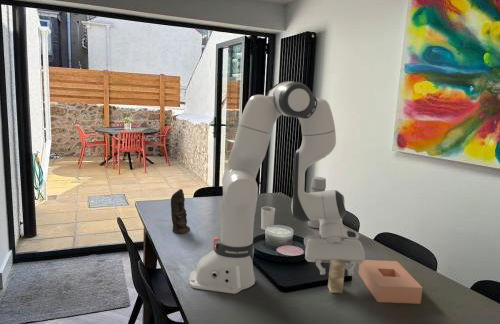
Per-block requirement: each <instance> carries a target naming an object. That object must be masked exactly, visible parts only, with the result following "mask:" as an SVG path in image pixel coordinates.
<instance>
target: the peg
mask: <svg viewBox="0 0 500 324" xmlns="http://www.w3.org/2000/svg"><path fill="white" fill-rule="evenodd" d="M328 269H329V272H328V279H327V280H328V282H327V288H328V290H329V292H330V293H331V294H332V293H333V294H334V293H335V294H343V291H344V282H345V271H346V263H344V262H343V260H335V259H330V263H329V268H328Z"/></svg>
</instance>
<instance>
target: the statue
mask: <svg viewBox="0 0 500 324" xmlns="http://www.w3.org/2000/svg"><path fill="white" fill-rule="evenodd" d="M170 208H171V209H170V212H171V222H172V232H173V233H176V234H181V235H184V234H186V233H187V232H188V231H190V230H191V228H190V226H188V225H187V224H188V219H187V215H188V213H187V210H186V208H185V194H184V190H183V189H182V188H179V189H178V190H177V191H175V192H174V193H173V194H172V196H171V198H170Z"/></svg>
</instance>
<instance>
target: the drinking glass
mask: <svg viewBox="0 0 500 324" xmlns="http://www.w3.org/2000/svg"><path fill="white" fill-rule="evenodd" d="M275 212H276V208H275V207H271V206H263V207H261V212H260V213H261V214H260V216H261V217H260V218H261V222H260V223H261V225H260V229H261V230H264V231H266V230H265V228H266V227H268V226H273V227H274V223H275V214H276V213H275Z"/></svg>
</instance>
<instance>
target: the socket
mask: <svg viewBox="0 0 500 324" xmlns="http://www.w3.org/2000/svg"><path fill="white" fill-rule="evenodd" d="M357 273H358V275H359V277H360V278H361V281H363V283H364V284H365V286H366V287H367V289H368V290H369V291H370V293H371V295H372V297H374V299H375V300H376V302H377V303H389V304H390V303H393V304H419V305H420V304H421V303H422V295H423V286H421V284H420V283H419V282H418V281H417V280H416V279H414V277H413V276H412V275H411V274H410V273H409V272H408V271H407V269H406V268H404V267H403V265H402V264H401V263H399V262H398V260H378V259H377V260H376V259H375V260H373V259H365V260H364V261H363V262H362V263H361V264H358V272H357ZM421 305H422V304H421Z"/></svg>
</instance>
